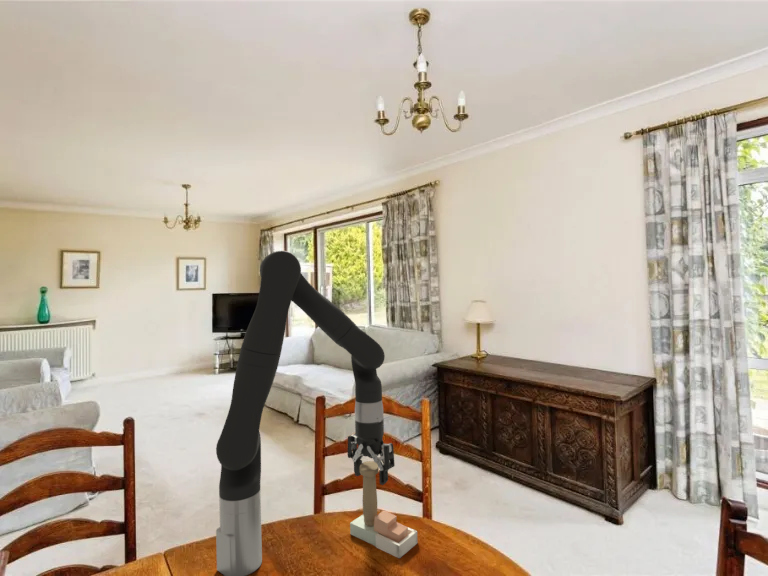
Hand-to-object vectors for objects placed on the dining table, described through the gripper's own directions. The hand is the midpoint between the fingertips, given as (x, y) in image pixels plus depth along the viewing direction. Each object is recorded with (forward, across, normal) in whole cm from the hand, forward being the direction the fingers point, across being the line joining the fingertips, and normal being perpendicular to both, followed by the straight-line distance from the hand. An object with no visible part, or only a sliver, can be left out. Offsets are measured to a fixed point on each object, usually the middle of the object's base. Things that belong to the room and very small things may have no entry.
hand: (370, 479), depth 109 cm
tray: (+15, +8, 0) cm, 17 cm away
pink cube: (+12, +4, 0) cm, 12 cm away
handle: (+12, 0, 0) cm, 12 cm away
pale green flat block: (+15, 0, 0) cm, 15 cm away
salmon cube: (+12, +6, 0) cm, 14 cm away
